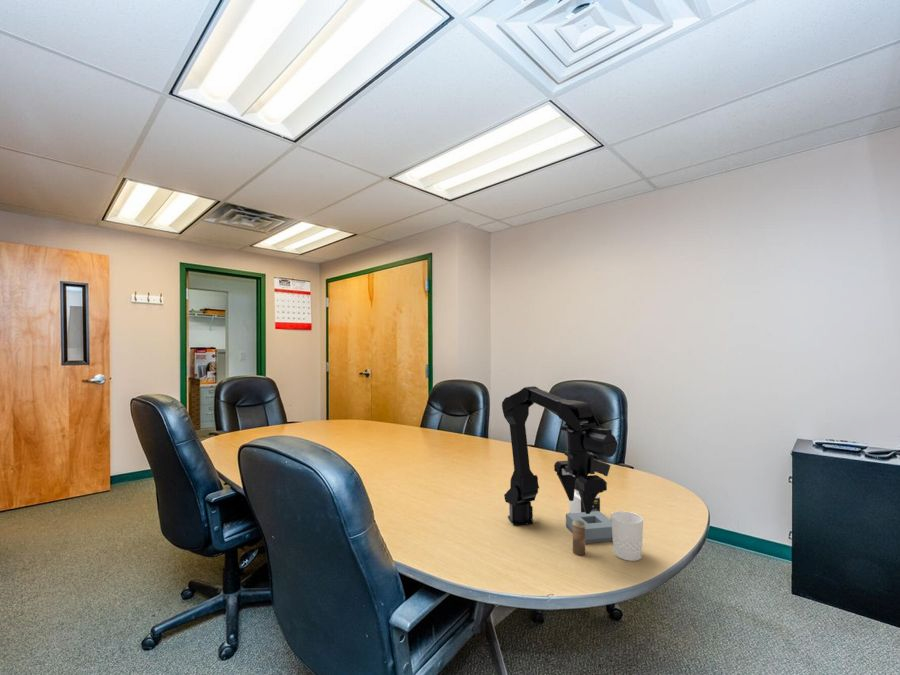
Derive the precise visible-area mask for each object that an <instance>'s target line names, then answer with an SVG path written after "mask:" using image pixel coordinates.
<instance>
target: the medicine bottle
mask: <svg viewBox="0 0 900 675" xmlns="http://www.w3.org/2000/svg"><path fill="white" fill-rule="evenodd" d="M578 488H579V486H578V478H577V479H576V481H575V491H574V500H573V501H570V500H569V499H568V502H569V503H568V505H569V508H568V509H569V513H580V512H585V510H584V507H583V504H582V501H581V498H580V495H579V491H578ZM593 511H600V512H601V497H600V496H599V495H597V496H596V498H595V500H594V503H593V506H592V509H591V512H593Z"/></svg>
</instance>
